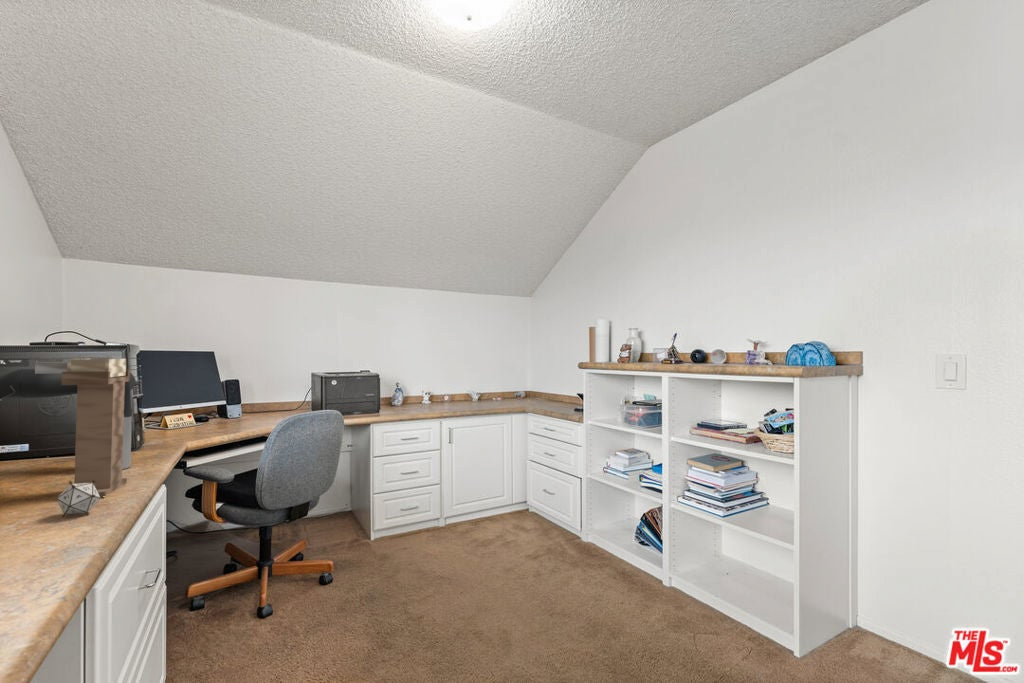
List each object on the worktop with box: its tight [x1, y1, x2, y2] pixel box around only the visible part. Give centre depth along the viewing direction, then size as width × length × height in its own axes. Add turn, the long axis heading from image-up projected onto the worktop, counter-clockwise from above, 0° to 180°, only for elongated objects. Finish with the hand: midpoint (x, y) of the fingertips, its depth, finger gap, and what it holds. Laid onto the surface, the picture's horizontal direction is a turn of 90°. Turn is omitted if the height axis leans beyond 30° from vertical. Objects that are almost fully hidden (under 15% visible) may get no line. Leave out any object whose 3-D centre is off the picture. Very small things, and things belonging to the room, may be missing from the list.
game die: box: [51, 479, 106, 518], centre depth 117 cm, size 9×8×10 cm
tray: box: [34, 358, 127, 377], centre depth 135 cm, size 12×18×5 cm
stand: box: [57, 369, 131, 497], centre depth 136 cm, size 15×10×34 cm, turn 21°
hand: (3, 390), depth 129 cm, fingers open, 8 cm apart
